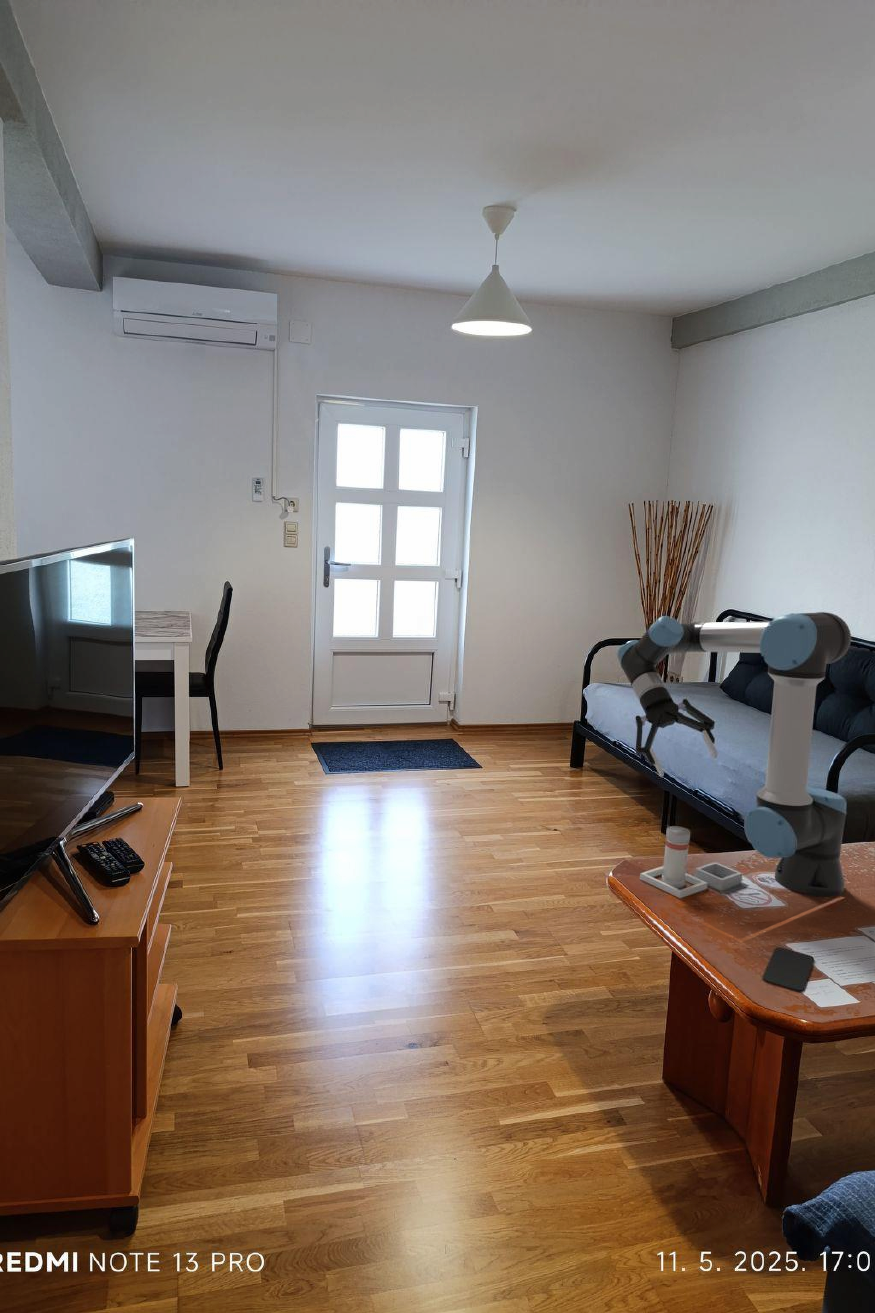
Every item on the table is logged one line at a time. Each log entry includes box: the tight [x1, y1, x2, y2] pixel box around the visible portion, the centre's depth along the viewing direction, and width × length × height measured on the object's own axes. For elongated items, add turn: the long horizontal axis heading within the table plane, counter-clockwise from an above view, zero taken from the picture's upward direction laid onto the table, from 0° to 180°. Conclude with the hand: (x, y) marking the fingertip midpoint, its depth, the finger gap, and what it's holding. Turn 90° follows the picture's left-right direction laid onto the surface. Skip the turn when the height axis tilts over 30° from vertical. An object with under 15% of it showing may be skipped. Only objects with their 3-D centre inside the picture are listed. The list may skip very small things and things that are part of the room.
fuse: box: [660, 825, 691, 890], centre depth 206 cm, size 5×5×13 cm
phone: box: [762, 946, 815, 993], centre depth 173 cm, size 7×1×15 cm
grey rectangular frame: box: [639, 865, 708, 899], centre depth 208 cm, size 12×10×2 cm
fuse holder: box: [690, 861, 750, 895], centre depth 210 cm, size 11×9×3 cm
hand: (689, 765), depth 216 cm, fingers open, 13 cm apart
